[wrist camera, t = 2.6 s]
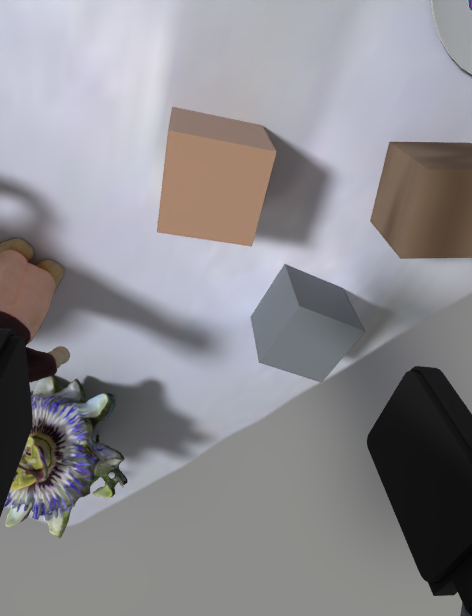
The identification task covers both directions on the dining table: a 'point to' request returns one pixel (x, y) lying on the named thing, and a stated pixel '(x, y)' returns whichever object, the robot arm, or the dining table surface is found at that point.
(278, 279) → the slate grey cube
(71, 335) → the dining table surface
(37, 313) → the grandmother figurine
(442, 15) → the purple patterned hat
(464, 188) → the walnut cube
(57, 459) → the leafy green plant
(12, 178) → the dining table surface
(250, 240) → the terracotta cube
